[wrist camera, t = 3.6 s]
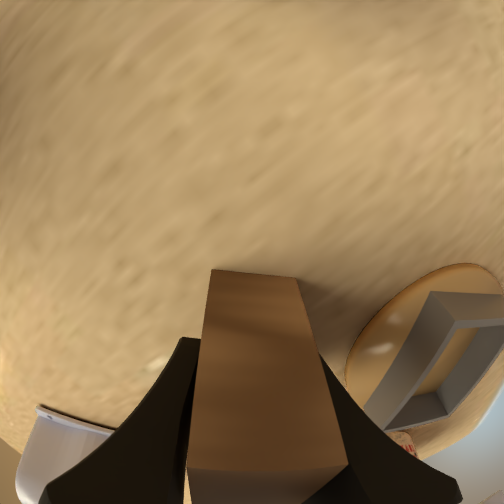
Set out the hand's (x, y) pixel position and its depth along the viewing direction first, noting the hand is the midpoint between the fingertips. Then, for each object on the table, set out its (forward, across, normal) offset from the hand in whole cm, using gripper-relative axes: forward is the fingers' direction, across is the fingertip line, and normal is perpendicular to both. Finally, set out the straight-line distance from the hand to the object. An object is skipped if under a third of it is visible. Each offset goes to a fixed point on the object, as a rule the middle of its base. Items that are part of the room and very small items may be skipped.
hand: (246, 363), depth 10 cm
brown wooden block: (+2, 0, 0) cm, 2 cm away
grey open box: (+2, -10, +1) cm, 10 cm away
